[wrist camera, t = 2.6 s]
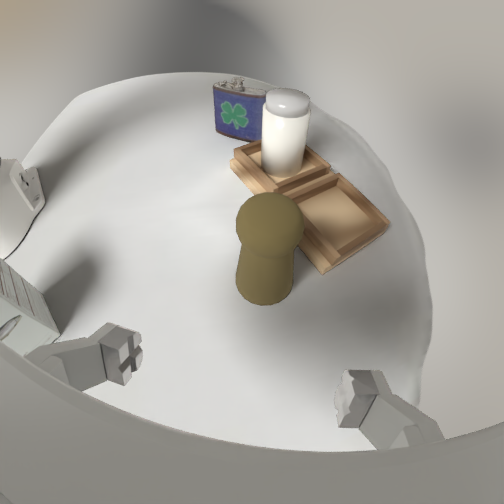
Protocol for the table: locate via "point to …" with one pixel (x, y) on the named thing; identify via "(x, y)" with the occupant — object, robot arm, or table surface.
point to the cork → (267, 247)
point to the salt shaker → (284, 131)
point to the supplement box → (23, 314)
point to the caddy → (317, 205)
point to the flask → (238, 110)
